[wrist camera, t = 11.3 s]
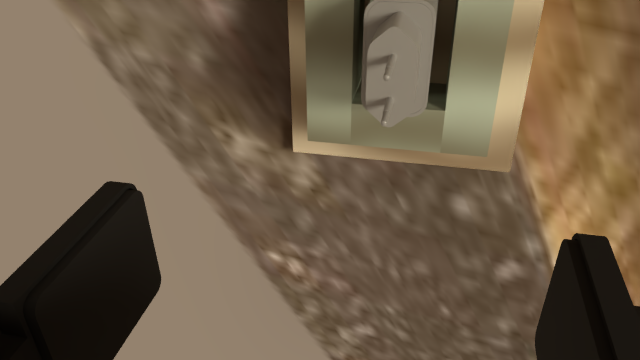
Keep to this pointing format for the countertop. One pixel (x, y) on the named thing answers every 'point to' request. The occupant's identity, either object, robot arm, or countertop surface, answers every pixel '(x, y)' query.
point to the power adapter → (397, 58)
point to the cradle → (444, 89)
